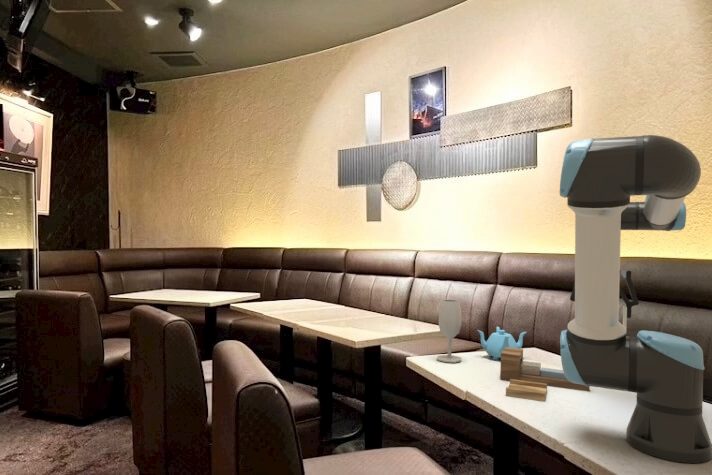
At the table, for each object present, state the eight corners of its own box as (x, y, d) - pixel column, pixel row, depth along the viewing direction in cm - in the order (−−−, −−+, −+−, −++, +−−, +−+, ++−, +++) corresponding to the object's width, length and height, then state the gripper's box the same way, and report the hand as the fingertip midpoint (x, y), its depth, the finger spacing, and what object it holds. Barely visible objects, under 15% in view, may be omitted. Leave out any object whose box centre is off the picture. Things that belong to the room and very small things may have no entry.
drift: (584, 385, 146) (584, 373, 146) (584, 389, 143) (584, 376, 143) (541, 379, 151) (542, 367, 151) (540, 383, 148) (540, 370, 148)
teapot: (497, 352, 186) (497, 325, 186) (528, 359, 175) (529, 331, 175) (475, 357, 178) (476, 329, 178) (507, 364, 167) (507, 335, 167)
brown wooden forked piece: (589, 391, 139) (590, 363, 139) (500, 379, 149) (500, 353, 149) (588, 382, 149) (589, 355, 148) (504, 371, 159) (505, 346, 159)
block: (540, 379, 152) (540, 363, 152) (539, 383, 147) (539, 366, 147) (503, 374, 156) (504, 358, 156) (501, 378, 152) (501, 362, 152)
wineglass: (465, 359, 173) (466, 300, 173) (456, 364, 166) (457, 302, 166) (442, 356, 178) (443, 298, 178) (432, 360, 171) (433, 300, 171)
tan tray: (544, 401, 130) (545, 393, 130) (505, 395, 134) (505, 388, 134) (546, 390, 139) (547, 383, 139) (510, 385, 143) (510, 378, 143)
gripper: (648, 252, 141) (646, 329, 141) (561, 249, 151) (560, 321, 151) (652, 252, 134) (650, 333, 134) (561, 250, 144) (559, 325, 144)
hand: (602, 327), depth 143 cm, fingers open, 10 cm apart
